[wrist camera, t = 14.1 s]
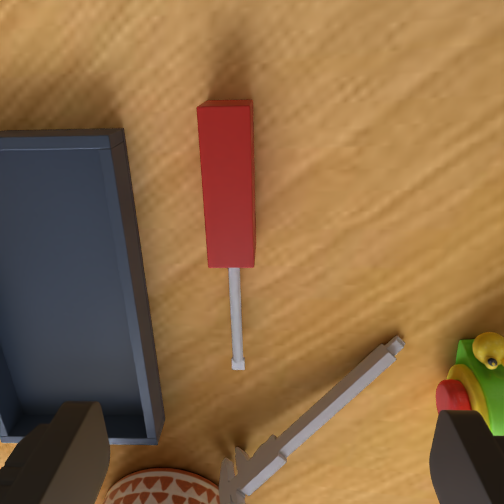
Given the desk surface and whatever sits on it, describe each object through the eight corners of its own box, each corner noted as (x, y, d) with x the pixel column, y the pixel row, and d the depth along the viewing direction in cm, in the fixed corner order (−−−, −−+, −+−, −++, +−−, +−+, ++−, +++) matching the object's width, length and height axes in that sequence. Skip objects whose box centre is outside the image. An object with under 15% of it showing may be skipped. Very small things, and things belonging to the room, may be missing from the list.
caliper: (230, 462, 41) (223, 528, 35) (221, 456, 40) (214, 522, 35) (404, 340, 34) (431, 396, 28) (395, 332, 34) (421, 387, 28)
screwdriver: (206, 100, 27) (196, 106, 24) (253, 99, 27) (250, 105, 23) (222, 352, 35) (216, 386, 32) (258, 352, 35) (256, 386, 32)
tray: (-75, 132, 29) (-110, 139, 26) (123, 128, 28) (108, 134, 25) (19, 417, 39) (1, 443, 37) (165, 419, 39) (157, 445, 36)
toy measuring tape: (521, 314, 33) (578, 371, 27) (484, 488, 41) (521, 562, 35) (436, 318, 33) (473, 375, 27) (416, 489, 41) (441, 562, 35)
